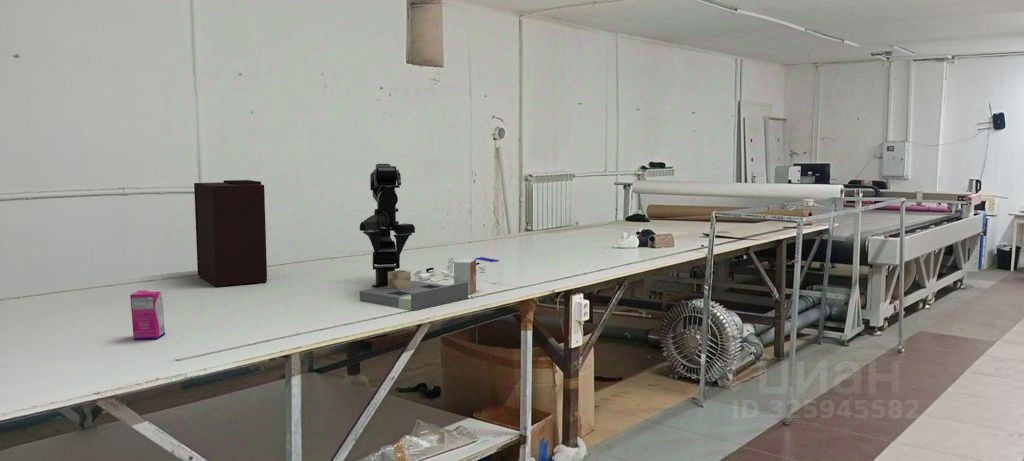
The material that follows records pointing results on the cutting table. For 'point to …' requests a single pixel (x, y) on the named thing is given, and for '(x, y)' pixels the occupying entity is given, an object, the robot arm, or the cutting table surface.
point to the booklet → (485, 259)
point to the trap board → (416, 295)
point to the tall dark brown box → (231, 232)
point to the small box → (466, 273)
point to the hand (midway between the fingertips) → (387, 254)
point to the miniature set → (429, 270)
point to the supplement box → (147, 314)
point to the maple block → (399, 279)
